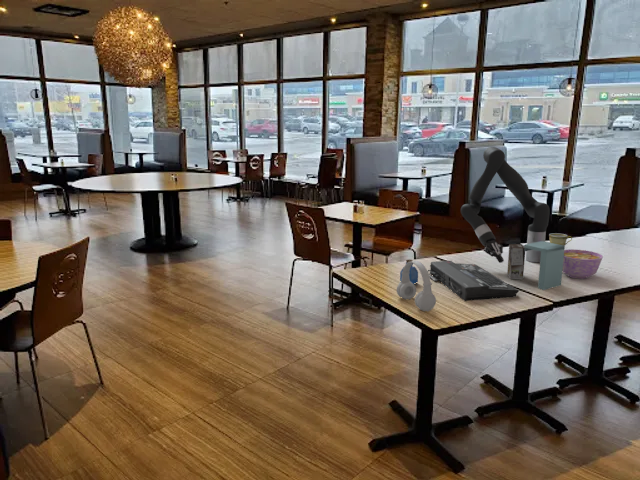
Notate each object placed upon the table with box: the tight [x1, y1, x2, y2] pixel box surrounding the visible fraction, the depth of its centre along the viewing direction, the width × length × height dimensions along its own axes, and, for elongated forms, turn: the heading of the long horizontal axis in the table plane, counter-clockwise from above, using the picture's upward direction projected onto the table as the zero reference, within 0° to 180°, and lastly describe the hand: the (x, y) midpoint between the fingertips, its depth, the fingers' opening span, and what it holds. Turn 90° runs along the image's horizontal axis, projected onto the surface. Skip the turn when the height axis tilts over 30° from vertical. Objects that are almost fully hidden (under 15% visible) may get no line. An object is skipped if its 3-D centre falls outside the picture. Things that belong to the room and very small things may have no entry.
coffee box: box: [507, 243, 526, 280], centre depth 244 cm, size 9×6×16 cm
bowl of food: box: [562, 249, 604, 280], centre depth 243 cm, size 20×20×12 cm
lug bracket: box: [523, 241, 566, 291], centre depth 231 cm, size 13×12×20 cm
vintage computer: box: [427, 260, 520, 302], centre depth 235 cm, size 43×29×8 cm
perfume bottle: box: [399, 259, 419, 284], centre depth 238 cm, size 6×6×12 cm
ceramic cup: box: [548, 232, 573, 247], centre depth 292 cm, size 13×10×10 cm
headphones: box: [396, 260, 437, 312], centre depth 209 cm, size 20×8×19 cm, turn 21°
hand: (501, 261), depth 252 cm, fingers closed
